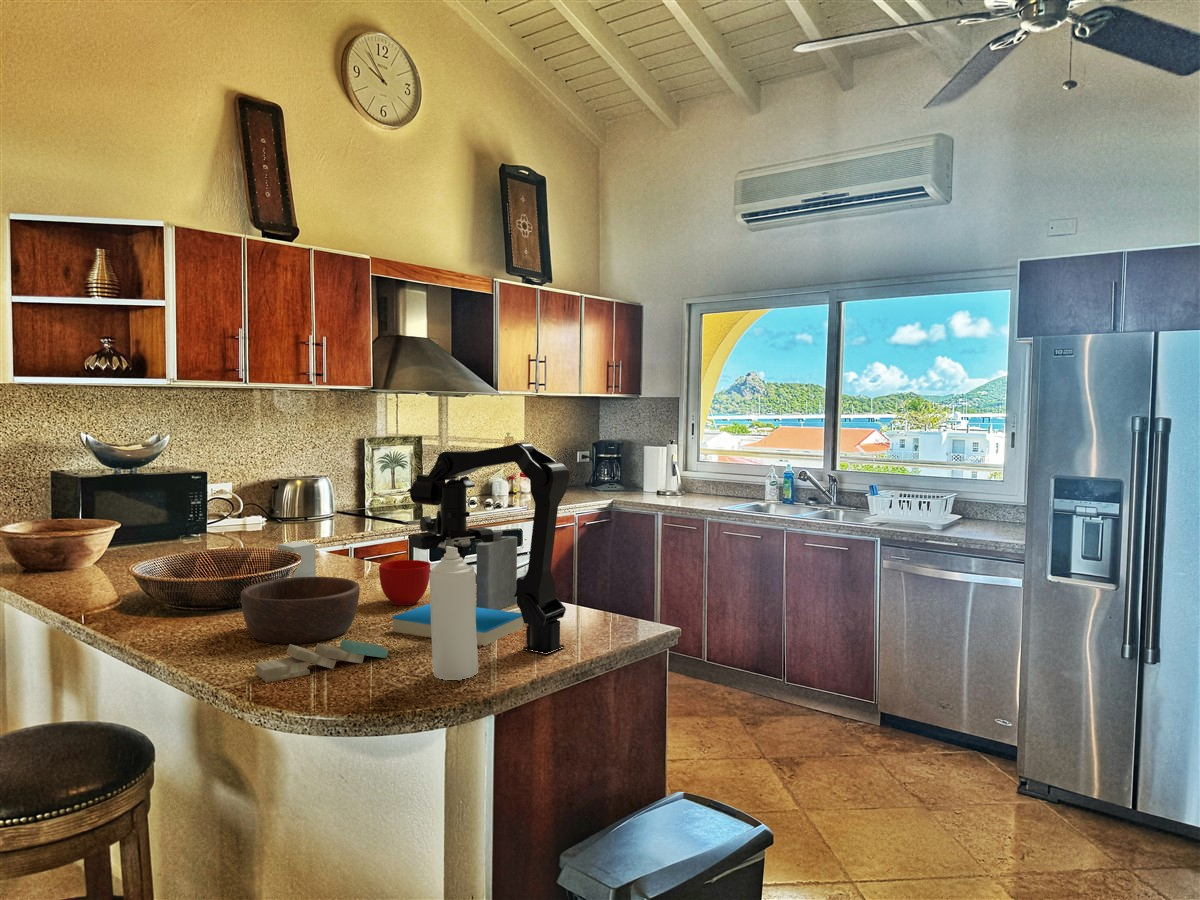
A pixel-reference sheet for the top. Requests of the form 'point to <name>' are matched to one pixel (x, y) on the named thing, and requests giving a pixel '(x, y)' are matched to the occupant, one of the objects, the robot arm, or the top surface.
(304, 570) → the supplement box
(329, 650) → the domino
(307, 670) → the domino
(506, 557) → the hip flask
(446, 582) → the spray can
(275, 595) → the wooden bowl
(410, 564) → the ceramic cup
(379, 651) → the teal domino
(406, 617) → the book
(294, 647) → the domino
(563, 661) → the top surface
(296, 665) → the domino
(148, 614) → the top surface
